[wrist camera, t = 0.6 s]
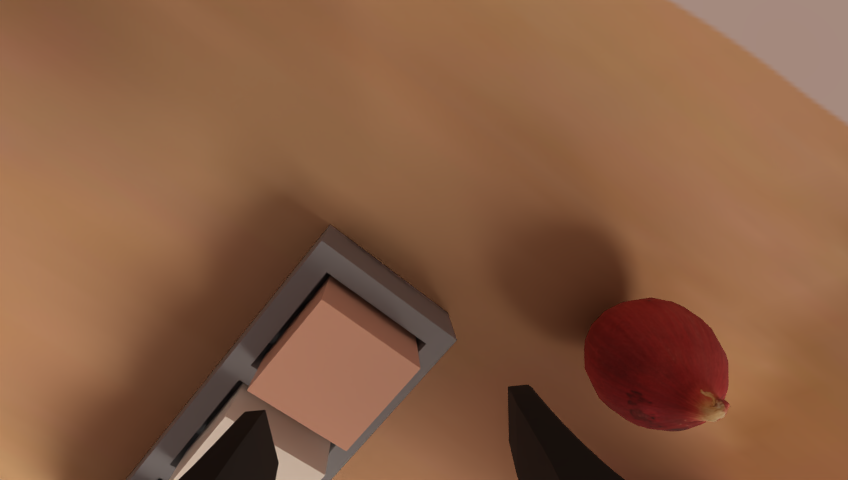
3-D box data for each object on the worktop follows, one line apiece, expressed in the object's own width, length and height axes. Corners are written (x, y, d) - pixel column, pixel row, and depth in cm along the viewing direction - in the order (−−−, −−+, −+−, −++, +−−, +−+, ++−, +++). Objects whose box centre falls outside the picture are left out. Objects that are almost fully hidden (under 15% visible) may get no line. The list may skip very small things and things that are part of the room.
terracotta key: (350, 410, 22) (346, 451, 19) (264, 355, 20) (246, 390, 18) (415, 336, 21) (420, 368, 18) (330, 275, 20) (321, 299, 17)
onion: (640, 379, 25) (753, 492, 18) (547, 364, 24) (621, 476, 17) (676, 286, 24) (815, 364, 16) (578, 267, 23) (675, 339, 15)
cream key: (273, 498, 23) (257, 550, 20) (186, 450, 21) (157, 498, 19) (332, 431, 22) (325, 475, 19) (246, 377, 21) (225, 416, 18)
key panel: (222, 566, 26) (202, 622, 23) (103, 507, 24) (65, 559, 21) (447, 312, 23) (456, 340, 20) (330, 224, 21) (321, 240, 18)
